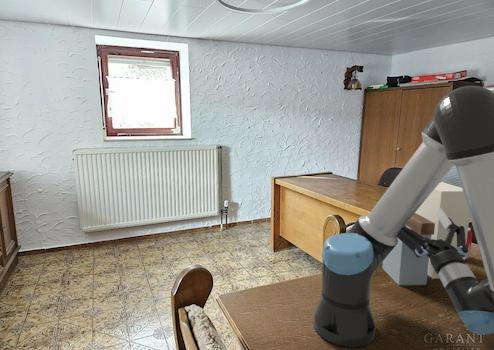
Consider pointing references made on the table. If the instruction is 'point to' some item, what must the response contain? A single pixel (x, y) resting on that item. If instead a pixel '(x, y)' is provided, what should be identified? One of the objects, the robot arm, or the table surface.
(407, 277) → the tall pale gray pillar
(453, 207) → the tall cream rectangular block
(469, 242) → the soda can
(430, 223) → the brown wooden beam
